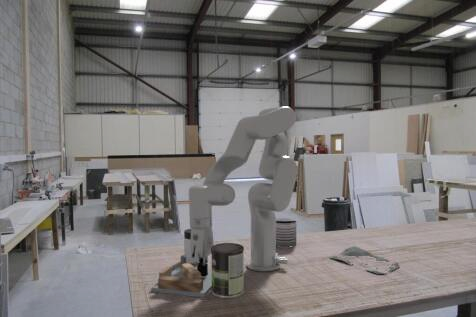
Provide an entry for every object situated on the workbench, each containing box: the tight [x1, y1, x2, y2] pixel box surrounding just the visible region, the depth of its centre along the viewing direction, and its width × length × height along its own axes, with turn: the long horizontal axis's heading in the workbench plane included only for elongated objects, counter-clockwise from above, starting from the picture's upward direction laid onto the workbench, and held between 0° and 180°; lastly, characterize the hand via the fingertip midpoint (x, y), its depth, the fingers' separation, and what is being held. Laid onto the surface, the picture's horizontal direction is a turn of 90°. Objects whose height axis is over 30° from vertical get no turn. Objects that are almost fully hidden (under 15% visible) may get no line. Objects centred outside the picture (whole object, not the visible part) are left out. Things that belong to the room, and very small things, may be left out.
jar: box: [183, 228, 197, 265], centre depth 145 cm, size 9×8×12 cm
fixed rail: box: [157, 276, 203, 293], centre depth 114 cm, size 14×3×3 cm, turn 74°
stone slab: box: [328, 245, 400, 275], centre depth 141 cm, size 24×16×2 cm, turn 33°
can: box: [276, 217, 297, 248], centre depth 167 cm, size 11×11×12 cm
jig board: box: [150, 266, 212, 298], centre depth 122 cm, size 18×20×4 cm
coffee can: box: [210, 242, 245, 299], centre depth 114 cm, size 10×10×14 cm
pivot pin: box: [180, 254, 186, 265], centre depth 130 cm, size 2×2×5 cm
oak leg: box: [180, 262, 201, 280], centre depth 124 cm, size 12×3×3 cm, turn 27°
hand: (202, 275), depth 123 cm, fingers closed
